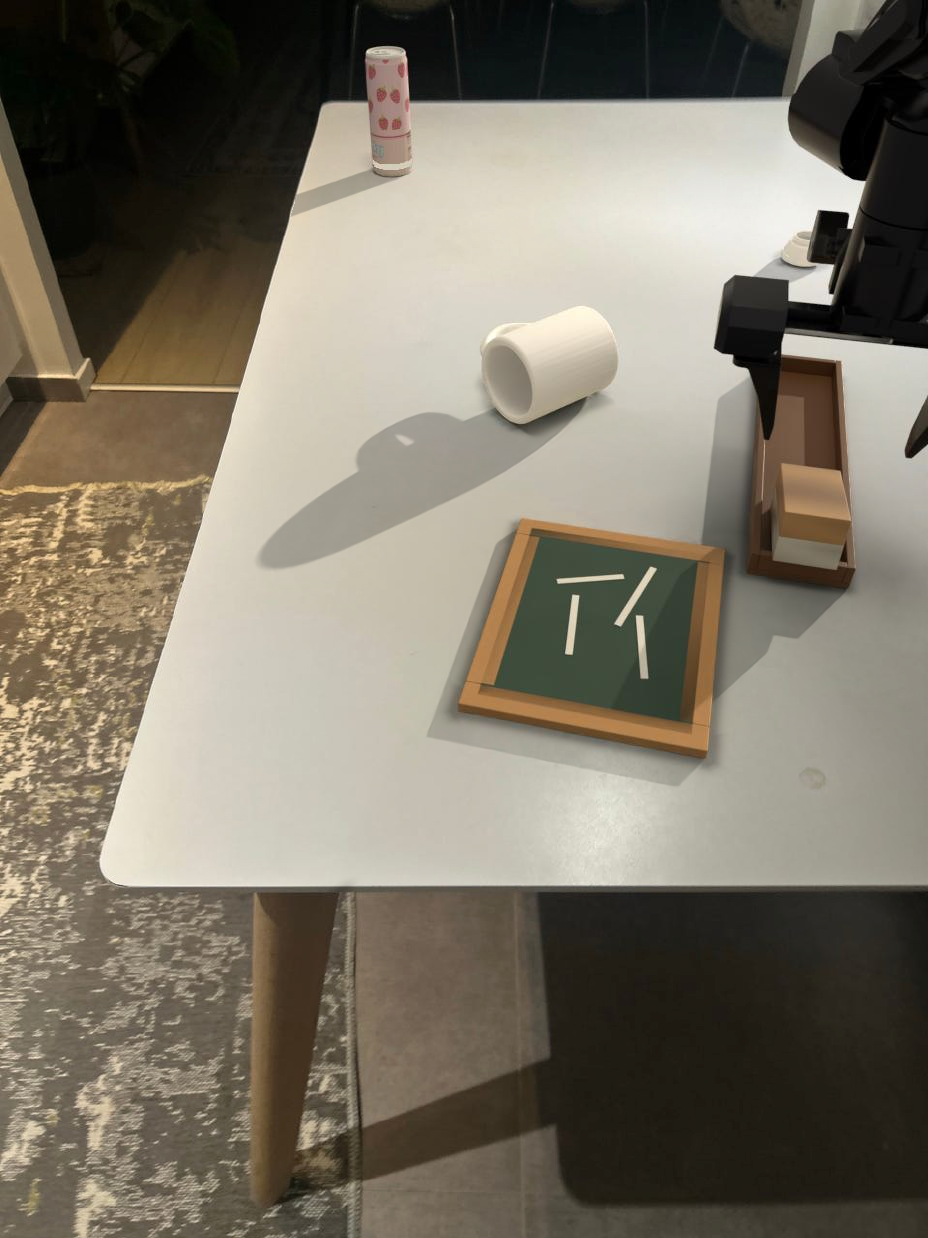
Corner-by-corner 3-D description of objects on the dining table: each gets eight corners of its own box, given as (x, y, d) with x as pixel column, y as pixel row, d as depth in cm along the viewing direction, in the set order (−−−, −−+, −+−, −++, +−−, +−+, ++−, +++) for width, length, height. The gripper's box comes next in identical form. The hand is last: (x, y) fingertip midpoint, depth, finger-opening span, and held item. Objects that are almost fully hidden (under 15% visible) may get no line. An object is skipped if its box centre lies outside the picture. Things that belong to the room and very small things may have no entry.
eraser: (769, 508, 75) (780, 462, 72) (827, 516, 74) (840, 470, 72) (772, 560, 67) (785, 511, 65) (836, 570, 66) (851, 520, 64)
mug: (614, 402, 87) (624, 323, 82) (534, 439, 83) (538, 358, 77) (532, 353, 94) (536, 277, 89) (454, 385, 90) (453, 307, 84)
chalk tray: (836, 379, 90) (842, 360, 89) (848, 589, 68) (856, 568, 67) (758, 370, 91) (762, 351, 90) (746, 573, 70) (752, 553, 68)
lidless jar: (829, 257, 110) (788, 248, 112) (836, 232, 108) (794, 223, 110) (815, 272, 107) (773, 263, 109) (821, 247, 105) (779, 238, 107)
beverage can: (366, 167, 133) (357, 48, 123) (402, 160, 135) (395, 43, 125) (383, 179, 130) (374, 58, 119) (419, 172, 132) (414, 52, 121)
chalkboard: (723, 556, 71) (725, 547, 71) (705, 758, 57) (708, 750, 57) (521, 525, 74) (521, 516, 74) (457, 711, 60) (457, 702, 60)
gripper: (1064, 173, 55) (967, 401, 66) (747, 150, 59) (704, 370, 70) (1107, 248, 48) (990, 491, 59) (739, 216, 51) (693, 452, 62)
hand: (836, 445), depth 63 cm, fingers open, 9 cm apart
